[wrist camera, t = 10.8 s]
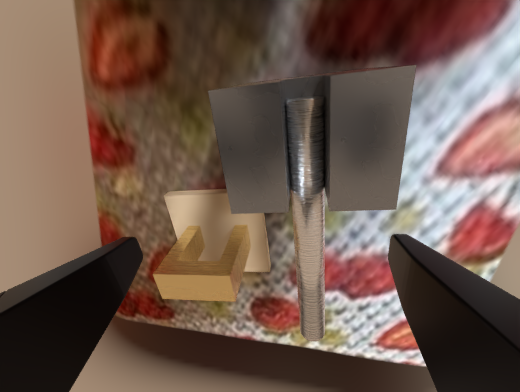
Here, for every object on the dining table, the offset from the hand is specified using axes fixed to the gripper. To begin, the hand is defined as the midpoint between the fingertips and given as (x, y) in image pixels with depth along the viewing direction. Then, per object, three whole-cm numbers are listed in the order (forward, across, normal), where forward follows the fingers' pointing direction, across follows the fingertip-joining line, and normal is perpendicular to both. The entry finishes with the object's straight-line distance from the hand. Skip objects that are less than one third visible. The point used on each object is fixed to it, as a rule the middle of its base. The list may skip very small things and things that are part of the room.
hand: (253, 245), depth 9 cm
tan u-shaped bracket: (+12, +6, +8) cm, 16 cm away
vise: (+13, -2, +4) cm, 14 cm away
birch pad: (+13, +6, +8) cm, 17 cm away
